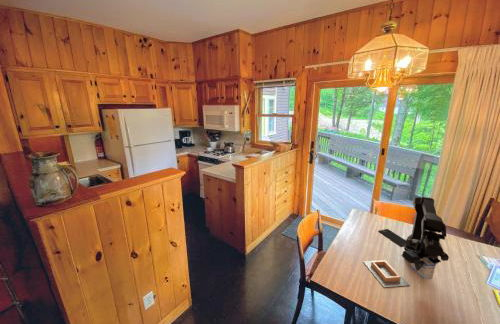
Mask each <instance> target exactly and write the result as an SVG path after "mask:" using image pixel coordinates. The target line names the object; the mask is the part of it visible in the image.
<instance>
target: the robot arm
mask: <svg viewBox="0 0 500 324" xmlns="http://www.w3.org/2000/svg"><path fill="white" fill-rule="evenodd" d="M412 205H413V209H414V211H415V213H414V220H413V225H412V230H411V233H410V235H409V236H407V237H406V239H405V240H406V241H405V242H404V246H403V250H402V251H403V252H402V254H401V256H402V257H403V258H404V259H405V260H406V261H407V262H409V263H410V264H411V263H414V264H415V268H416V270H417V271H419V270H420V268H421V267H422V266H423V264H424V262H423V261H422V259H423V258H428V259H429V260H431V261H432V262H433V263H434V264H436V265H437V264H439V263H441V262H446V261H449V259H450V258H449V255H448V254H447V253H446V252H445V251H444V248H443V247H442V244H441V241H440V240H445V239H446V237H447V227H446V224H445V223H444V221H443V219H442V217H440V216H439V215H438V214H437V211H436V207H435V199H434V198H432V197H428V196H419V197H418V196H417V197H414V198H412ZM439 257H440V258H439Z"/></svg>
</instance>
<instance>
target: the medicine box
mask: <svg viewBox="0 0 500 324" xmlns="http://www.w3.org/2000/svg"><path fill="white" fill-rule="evenodd" d="M422 261H423V262H424V264H423V266H422V267H421V268H420V270H419V271H417V270H416V268H415V264H414V263H410V269H412V271H413V272H414V273H416V274H417V275H418V276H419V277H420V278H421V279H422V280H433V277H434V273H435V270H436V265H437V264H434V263H433V262H432V261H431V260H429V259H428V258H423V259H422Z"/></svg>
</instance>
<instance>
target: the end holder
mask: <svg viewBox="0 0 500 324" xmlns="http://www.w3.org/2000/svg"><path fill="white" fill-rule="evenodd" d="M362 263H363V264H364V265H365V266H366V268H367V269H368V270H369V271H370V273H371V274H372V275H373V276H374V278H375V279H376V280H377V281H378V283H379V284H381V286H382V287H383V288H384V289H385V288H397V287H398V288H401V287H409V286H411V285H410V283H408V281H406V279H405V278H404V277H403V276H402V275H401V274H400V273H399V272H398V271H397V270H396V269H395V268H394V267H393V266H392V265H391V264H390V263H389V262H388V261H387V260H386V259H380V260H379V259H377V260H364V261H362Z"/></svg>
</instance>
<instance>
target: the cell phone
mask: <svg viewBox="0 0 500 324" xmlns="http://www.w3.org/2000/svg"><path fill="white" fill-rule="evenodd" d="M378 233H379V234H381V235H382V236H384V237H385V238H387V239H388V240H390V241H391V242H393V243H395V245H397V246H399V247H401V248H404V242H405V241H406V239H404V238H403V237H401V236H400V235H399V234H397V233H395V232H393V231H392V230H391V229H389V228H386V229H380V230H378Z"/></svg>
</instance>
